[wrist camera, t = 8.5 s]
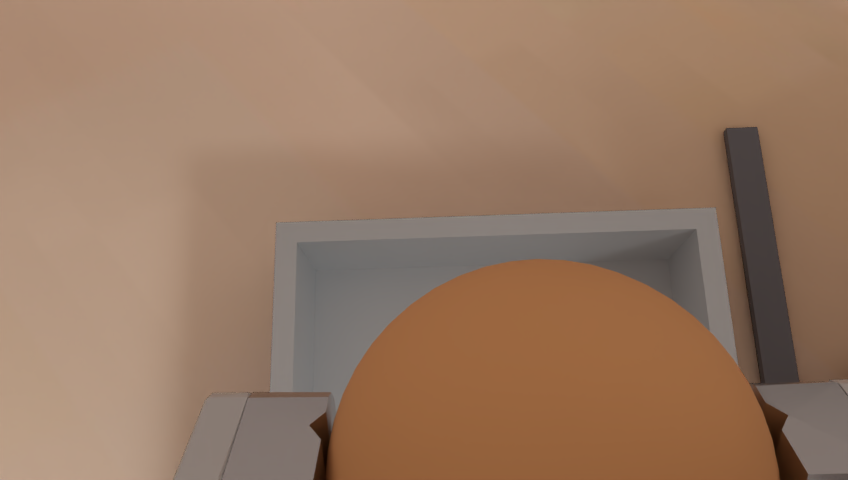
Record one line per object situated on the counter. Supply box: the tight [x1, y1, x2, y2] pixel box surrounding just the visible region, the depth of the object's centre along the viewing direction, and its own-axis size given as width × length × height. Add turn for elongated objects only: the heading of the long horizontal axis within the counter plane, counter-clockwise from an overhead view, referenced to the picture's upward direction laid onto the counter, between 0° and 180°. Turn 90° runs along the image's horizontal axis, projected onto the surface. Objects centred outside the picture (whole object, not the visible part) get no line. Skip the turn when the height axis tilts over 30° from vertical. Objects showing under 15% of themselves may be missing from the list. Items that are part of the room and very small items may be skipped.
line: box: [724, 127, 799, 383], centre depth 22 cm, size 1×22×1 cm, turn 1°
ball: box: [326, 259, 780, 480], centre depth 9 cm, size 5×5×5 cm
